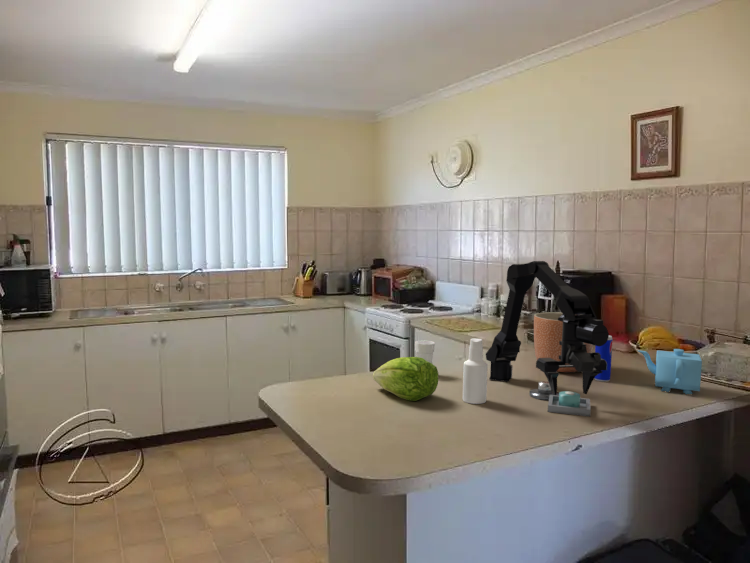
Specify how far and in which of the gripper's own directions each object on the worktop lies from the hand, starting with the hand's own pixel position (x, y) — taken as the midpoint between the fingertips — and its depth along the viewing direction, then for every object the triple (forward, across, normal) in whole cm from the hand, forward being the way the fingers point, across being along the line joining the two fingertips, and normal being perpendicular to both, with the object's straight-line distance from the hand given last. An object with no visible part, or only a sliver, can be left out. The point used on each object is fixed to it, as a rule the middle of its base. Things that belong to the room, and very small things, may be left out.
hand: (569, 394), depth 164 cm
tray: (+4, 0, 0) cm, 4 cm away
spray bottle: (+4, -24, +10) cm, 27 cm away
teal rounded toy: (+3, 0, 0) cm, 3 cm away
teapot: (+4, +42, +15) cm, 45 cm away
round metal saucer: (+4, -1, +12) cm, 13 cm away
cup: (+4, -30, +42) cm, 52 cm away
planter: (+4, +21, +43) cm, 48 cm away
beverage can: (+4, +27, +27) cm, 39 cm away
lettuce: (+4, -43, +19) cm, 47 cm away
